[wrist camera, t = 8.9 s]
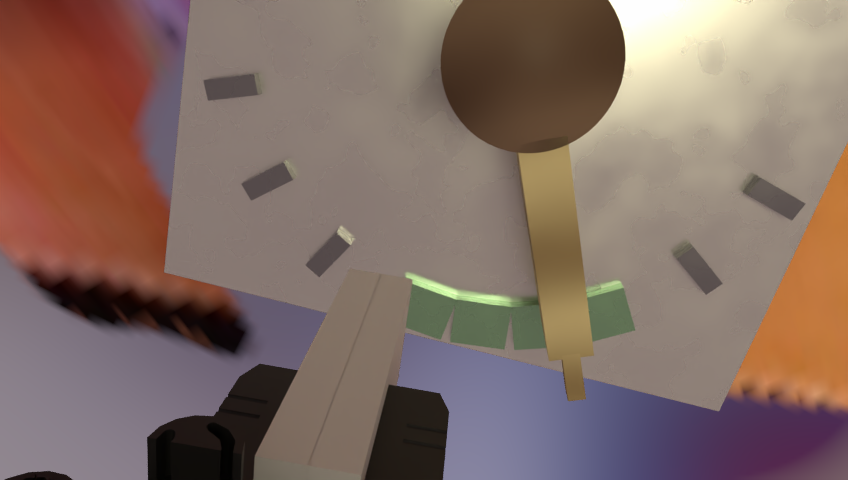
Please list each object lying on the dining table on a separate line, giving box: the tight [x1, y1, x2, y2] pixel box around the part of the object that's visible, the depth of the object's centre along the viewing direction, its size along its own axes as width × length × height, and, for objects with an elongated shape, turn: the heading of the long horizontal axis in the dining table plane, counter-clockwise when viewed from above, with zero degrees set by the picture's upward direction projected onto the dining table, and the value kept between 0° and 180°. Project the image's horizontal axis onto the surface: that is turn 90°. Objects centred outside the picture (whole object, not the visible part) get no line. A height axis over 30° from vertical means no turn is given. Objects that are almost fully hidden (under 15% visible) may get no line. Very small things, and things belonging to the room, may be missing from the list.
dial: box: [441, 0, 626, 401], centre depth 28 cm, size 19×7×4 cm, turn 11°
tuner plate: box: [164, 0, 848, 411], centre depth 30 cm, size 32×32×3 cm
